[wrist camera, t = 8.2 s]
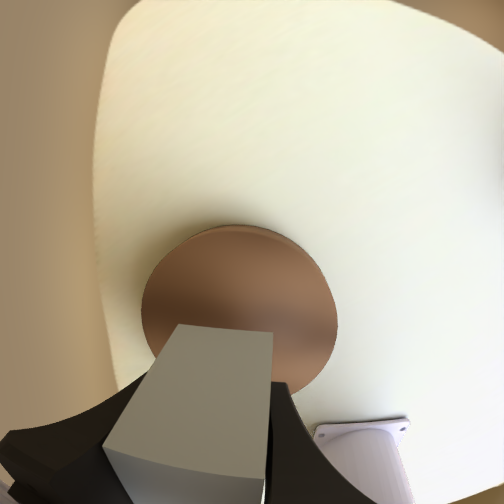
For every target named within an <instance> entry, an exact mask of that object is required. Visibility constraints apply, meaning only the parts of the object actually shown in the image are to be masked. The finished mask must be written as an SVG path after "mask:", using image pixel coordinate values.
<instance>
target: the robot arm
mask: <svg viewBox="0 0 504 504" xmlns="http://www.w3.org/2000/svg"><path fill="white" fill-rule="evenodd" d="M148 371H149V370H148ZM148 371H147V372H148ZM147 372H146V373H144V374H143V375H142V376H140V377H139V378H138V379H136V380H135V381H134V382H132V383H131V384H130V385H128V386H127V387H125V388H124V389H122V390H121V391H120V392H118V393H117V394H115V395H113V396H112V397H110V398H109V399H107V400H105V401H104V402H102V403H100V404H99V405H97V406H95V407H93V408H91V409H89V410H87V411H85V412H83V413H81V414H78V415H76V416H73V417H71V418H68V419H65V420H62V421H59V422H56V423H53V424H49V425H45V426H40V427H35V428H29V429H21V430H10V431H9V432H8V433H7V434H6V436H5V437H4V438H3V439H2V440H1V441H0V463H1V464H2V466H3V467H4V468H5V469H6V471H7V472H8V473H9V474H10V475H11V477H12V478H13V479H14V480H15V482H14V483H13V484H12V486H11V487H10V486H8V485H7V484H5V483H4V482H3V481H2V480H0V504H134V503H133V501H132V500H131V498H130V496H129V495H128V493H127V492H126V490H125V488H124V486H123V485H122V483H121V481H120V480H119V478H118V476H117V474H116V472H115V471H114V469H113V467H112V465H111V463H110V461H109V459H108V457H107V455H106V453H105V451H104V449H103V447H102V445H103V444H104V442H105V440H106V439H107V437H108V435H109V434H110V432H111V430H112V429H113V427H114V425H115V424H116V422H117V421H118V419H119V417H120V416H121V414H122V412H123V411H124V409H125V408H126V406H127V404H128V403H129V401H130V400H131V398H132V396H133V395H134V393H135V391H136V390H137V388H138V387H139V385H140V383H141V382H142V380H143V379H144V377H145V376H146V374H147ZM409 425H410V421H409V419H408V418H405V419H397V420H388V421H378V422H366V423H351V424H323V425H319V426H318V427H317V428H316V431H315V435H314V438H313V439H312V437H311V436H310V434H309V432H308V431H307V429H306V427H305V425H304V424H303V422H302V420H301V418H300V416H299V414H298V412H297V410H296V407H295V405H294V403H293V400H292V397H291V395H290V391H289V388H288V384H287V383H286V382H272V381H271V391H270V408H269V424H268V439H267V454H266V467H265V499H264V504H415V502H414V498H413V495H412V491H411V488H410V485H409V482H408V479H407V475H406V472H405V469H404V466H403V463H402V460H401V457H400V454H399V451H398V448H397V447H398V445H399V444H400V442H401V440H402V438H403V436H404V434H405V433H406V431H407V429H408V427H409Z"/></svg>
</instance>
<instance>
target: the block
mask: <svg viewBox="0 0 504 504" xmlns="http://www.w3.org/2000/svg"><path fill="white" fill-rule="evenodd" d="M272 352H273V332H259V331H245V330H233V329H222V328H211V327H202V326H193V325H184V324H178V325H177V327H176V329H175V330H174V332H173V333H172V335H171V336H170V338H169V339H168V341H167V343H166V344H165V346H164V347H163V349H162V350H161V352H160V353H159V355H158V357H157V358H156V360H155V361H154V363H153V364H152V366H151V368H150V369H149V371H148V372H147V374H146V376H145V377H144V379H143V380H142V382H141V383H140V385H139V387H138V388H137V390H136V391H135V393H134V395H133V396H132V398H131V400H130V401H129V403H128V404H127V406H126V408H125V409H124V411H123V412H122V414H121V416H120V417H119V419H118V421H117V422H116V424H115V425H114V427H113V429H112V430H111V432H110V434H109V435H108V437H107V439H106V440H105V442H104V444H103V445H102V447H103V449H104V451H105V453H106V455H107V457H108V459H109V461H110V463H111V465H112V467H113V469H114V471H115V472H116V474H117V476H118V478H119V480H120V481H121V483H122V485H123V486H124V488H125V490H126V492H127V493H128V495H129V496H130V498H131V500H132V501H133V503H134V504H261V499H262V493H263V486H264V480H265V467H266V454H267V439H268V424H269V408H270V391H271V372H272Z"/></svg>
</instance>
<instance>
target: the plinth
mask: <svg viewBox="0 0 504 504" xmlns="http://www.w3.org/2000/svg"><path fill="white" fill-rule="evenodd" d="M141 315H142V325H143V330H144V334H145V337H146V340H147V343H148V345H149V347H150V349H151V351H152V353H153V354H154V356H155V357H156V358H157V357H158V355H159V353H160V352H161V350H162V349H163V347H164V346H165V344H166V343H167V341H168V339H169V338H170V336H171V335H172V333H173V332H174V330H175V329H176V327H177V325H178V324H184V325H193V326H202V327H211V328H222V329H233V330H245V331H259V332H273V352H272V372H271V381H272V382H286V383H287V384H288V388H289V391H290V395H292V394H294V393H295V392H297V391H299V390H301V389H302V388H303V387H305V386H306V385H308V384H309V383H310V382H311V381H312V380H313V379H314V378H315V377H316V376H317V375H318V374H319V373H320V372H321V370H322V369H323V368H324V366H325V365H326V363H327V361H328V360H329V358H330V356H331V353H332V351H333V349H334V345H335V341H336V337H337V328H338V323H337V312H336V307H335V302H334V299H333V297H332V294H331V291H330V289H329V287H328V284H327V282H326V280H325V277H324V276H323V274H322V272H321V270H320V268H319V267H318V265H317V264H316V263H315V261H314V260H313V259H312V258H311V257H310V256H309V255H308V254H307V253H306V252H305V251H304V250H303V249H302V248H301V247H300V246H298V245H297V244H296V243H294V242H293V241H291V240H290V239H288V238H286V237H284V236H283V235H281V234H278V233H276V232H273V231H271V230H268V229H264V228H260V227H256V226H248V225H227V226H220V227H215V228H212V229H209V230H205V231H203V232H201V233H198V234H196V235H194V236H192V237H191V238H189V239H188V240H186V241H185V242H183V243H182V244H180V245H179V246H178V247H176V248H175V249H174V250H172V251H171V252H170V253H169V254H168V255H167V256H165V257H164V258H163V259H162V260H161V262H160V263H159V264H158V265H157V266H156V268H155V269H154V271H153V273H152V274H151V276H150V278H149V280H148V282H147V285H146V287H145V290H144V294H143V299H142V308H141Z"/></svg>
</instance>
